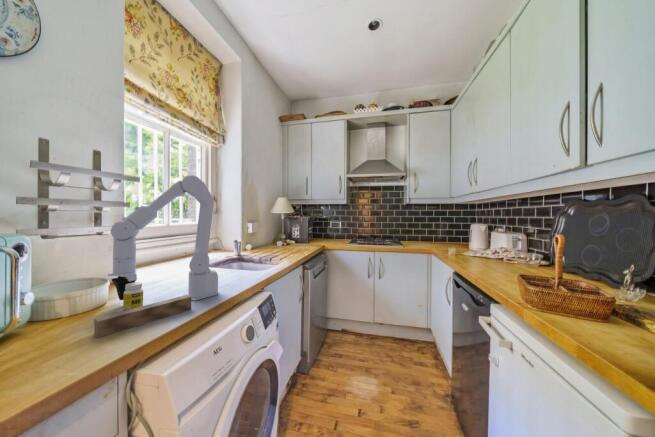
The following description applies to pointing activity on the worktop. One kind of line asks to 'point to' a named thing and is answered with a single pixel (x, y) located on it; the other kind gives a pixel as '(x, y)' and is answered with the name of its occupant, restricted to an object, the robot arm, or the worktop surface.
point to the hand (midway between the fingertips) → (124, 299)
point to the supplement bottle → (133, 296)
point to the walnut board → (140, 315)
